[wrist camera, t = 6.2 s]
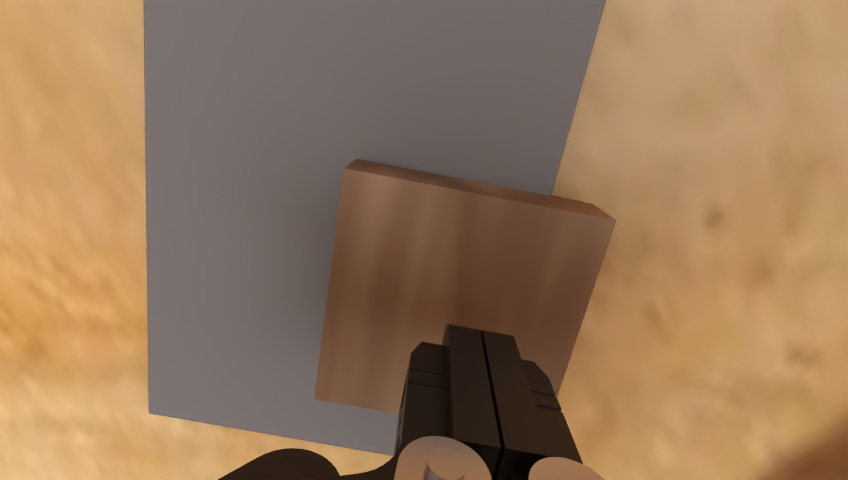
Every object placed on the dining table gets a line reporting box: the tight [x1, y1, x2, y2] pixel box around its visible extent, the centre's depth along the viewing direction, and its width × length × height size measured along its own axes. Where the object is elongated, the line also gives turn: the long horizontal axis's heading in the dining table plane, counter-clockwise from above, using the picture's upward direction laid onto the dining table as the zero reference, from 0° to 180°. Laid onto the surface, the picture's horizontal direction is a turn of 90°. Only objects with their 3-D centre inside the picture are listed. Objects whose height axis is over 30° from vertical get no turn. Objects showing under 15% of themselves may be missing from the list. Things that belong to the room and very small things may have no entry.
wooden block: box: [314, 159, 616, 414], centre depth 13 cm, size 2×7×7 cm
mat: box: [144, 0, 606, 456], centre depth 14 cm, size 12×16×1 cm
